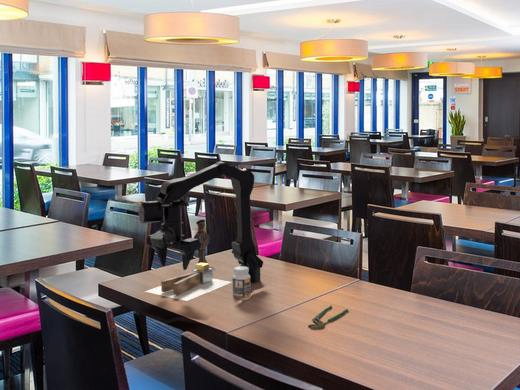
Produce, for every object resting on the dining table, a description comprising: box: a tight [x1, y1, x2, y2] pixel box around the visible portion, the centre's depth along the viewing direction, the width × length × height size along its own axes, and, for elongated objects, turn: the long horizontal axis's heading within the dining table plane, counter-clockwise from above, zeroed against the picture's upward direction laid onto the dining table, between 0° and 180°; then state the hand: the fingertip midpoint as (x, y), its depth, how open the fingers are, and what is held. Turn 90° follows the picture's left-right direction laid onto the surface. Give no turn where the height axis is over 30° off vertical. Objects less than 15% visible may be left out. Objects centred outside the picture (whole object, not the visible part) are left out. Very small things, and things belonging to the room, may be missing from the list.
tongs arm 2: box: [173, 273, 200, 295], centre depth 201 cm, size 14×1×4 cm, turn 154°
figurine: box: [193, 218, 210, 264], centre depth 236 cm, size 7×5×18 cm
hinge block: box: [192, 267, 213, 284], centre depth 211 cm, size 5×4×4 cm
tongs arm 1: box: [160, 271, 195, 292], centre depth 203 cm, size 14×1×4 cm, turn 138°
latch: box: [195, 262, 210, 271], centre depth 210 cm, size 3×4×2 cm
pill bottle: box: [232, 265, 252, 301], centre depth 195 cm, size 6×6×10 cm
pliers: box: [307, 305, 349, 330], centre depth 177 cm, size 20×6×1 cm, turn 148°
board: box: [144, 277, 233, 302], centre depth 205 cm, size 18×24×1 cm
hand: (174, 267), depth 198 cm, fingers open, 9 cm apart
